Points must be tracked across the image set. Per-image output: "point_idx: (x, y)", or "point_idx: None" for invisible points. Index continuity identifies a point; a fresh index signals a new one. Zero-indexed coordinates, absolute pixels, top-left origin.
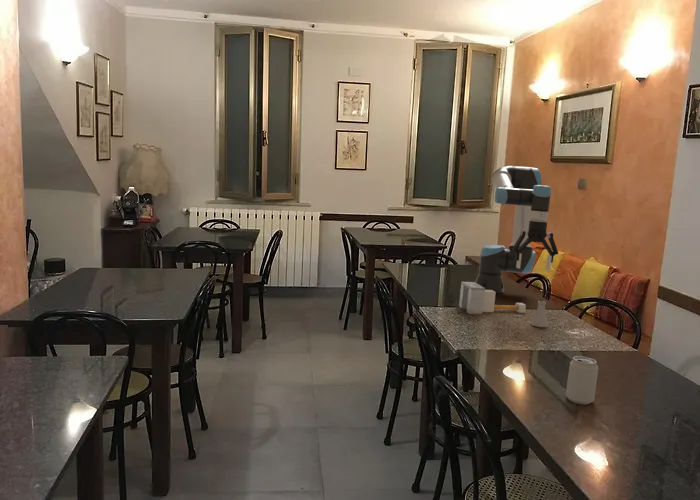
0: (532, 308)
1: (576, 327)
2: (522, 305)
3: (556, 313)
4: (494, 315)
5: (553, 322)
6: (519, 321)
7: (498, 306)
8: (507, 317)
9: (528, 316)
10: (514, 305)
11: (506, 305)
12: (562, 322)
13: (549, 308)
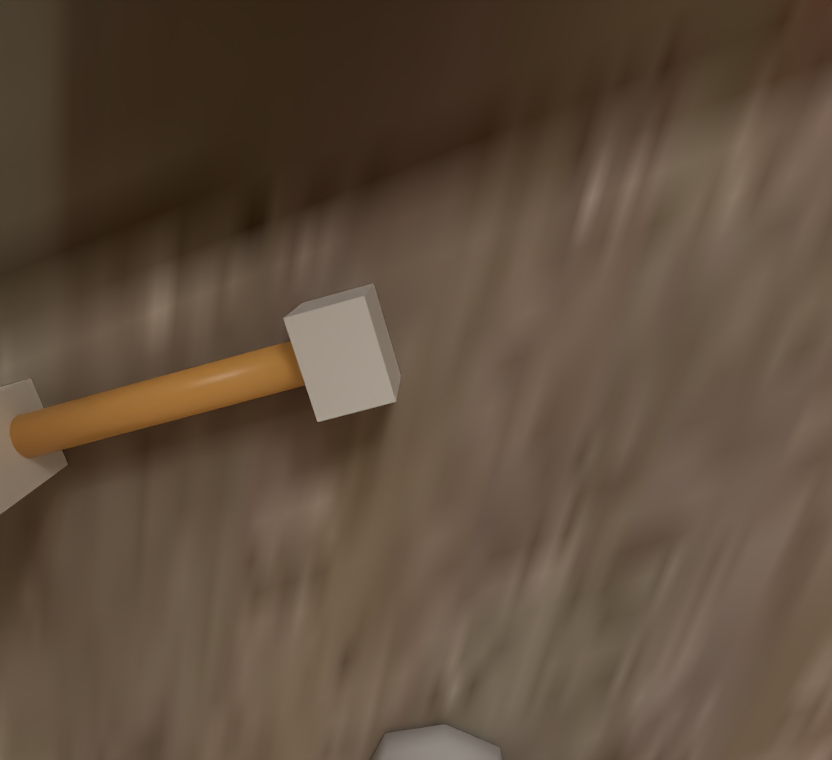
0: (543, 120)
1: (769, 750)
2: (353, 410)
3: (778, 277)
4: (74, 585)
5: (603, 655)
6: (284, 711)
7: (87, 441)
8: (191, 616)
9: (406, 516)
10: (268, 373)
11: (173, 405)
12: (697, 630)
13: (784, 26)
